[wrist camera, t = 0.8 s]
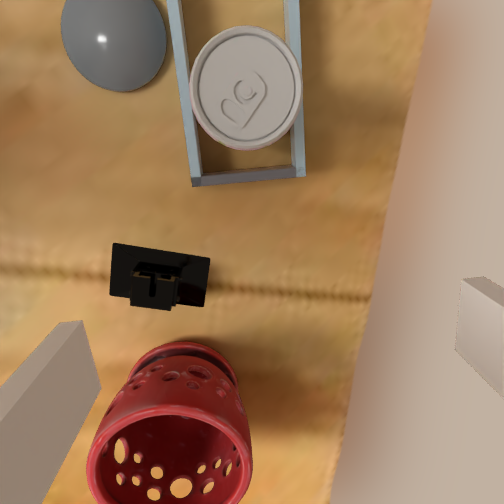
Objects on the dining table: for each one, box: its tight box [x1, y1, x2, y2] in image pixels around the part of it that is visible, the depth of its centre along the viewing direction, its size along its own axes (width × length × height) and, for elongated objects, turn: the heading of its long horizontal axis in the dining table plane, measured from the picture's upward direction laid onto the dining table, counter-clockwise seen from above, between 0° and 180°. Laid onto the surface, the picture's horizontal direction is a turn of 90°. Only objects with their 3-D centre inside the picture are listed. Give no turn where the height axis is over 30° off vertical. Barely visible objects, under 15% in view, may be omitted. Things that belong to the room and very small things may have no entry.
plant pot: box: [86, 342, 253, 504], centre depth 34 cm, size 13×13×12 cm
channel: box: [166, 0, 306, 187], centre depth 29 cm, size 10×16×2 cm, turn 5°
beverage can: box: [189, 25, 303, 151], centre depth 24 cm, size 6×6×15 cm
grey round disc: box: [61, 0, 167, 92], centre depth 29 cm, size 8×8×1 cm
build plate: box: [109, 243, 210, 311], centre depth 34 cm, size 12×7×5 cm, turn 80°
